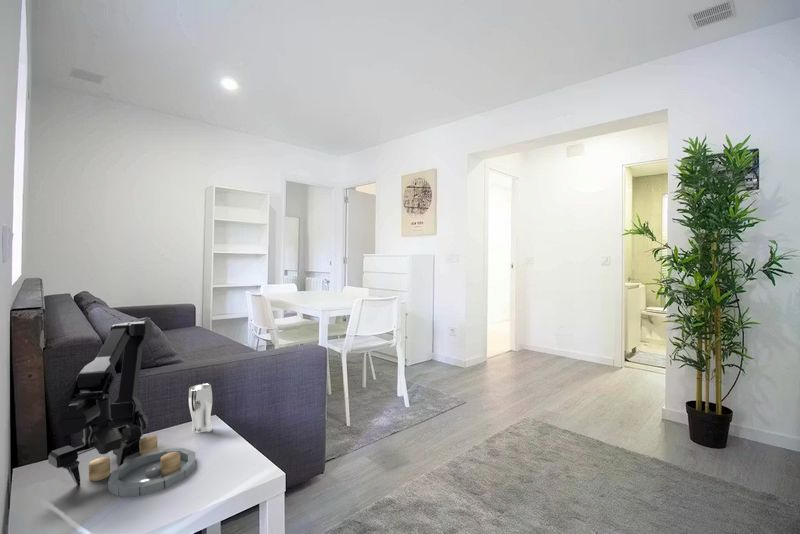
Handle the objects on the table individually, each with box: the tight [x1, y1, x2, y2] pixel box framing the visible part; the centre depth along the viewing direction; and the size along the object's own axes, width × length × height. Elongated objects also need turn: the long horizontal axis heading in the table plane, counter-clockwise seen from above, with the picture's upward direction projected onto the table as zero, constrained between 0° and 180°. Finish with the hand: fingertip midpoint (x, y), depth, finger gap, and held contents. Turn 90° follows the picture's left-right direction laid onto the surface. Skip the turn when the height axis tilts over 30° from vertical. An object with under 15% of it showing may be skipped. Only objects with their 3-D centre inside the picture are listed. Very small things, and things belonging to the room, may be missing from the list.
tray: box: [107, 447, 197, 497], centre depth 101 cm, size 19×19×3 cm
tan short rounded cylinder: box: [161, 452, 181, 478], centre depth 100 cm, size 4×4×5 cm
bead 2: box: [139, 434, 159, 456], centre depth 112 cm, size 4×4×5 cm
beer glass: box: [188, 383, 213, 434], centre depth 127 cm, size 7×7×15 cm
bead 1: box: [88, 456, 111, 482], centre depth 100 cm, size 4×4×5 cm
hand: (99, 476), depth 100 cm, fingers open, 9 cm apart
